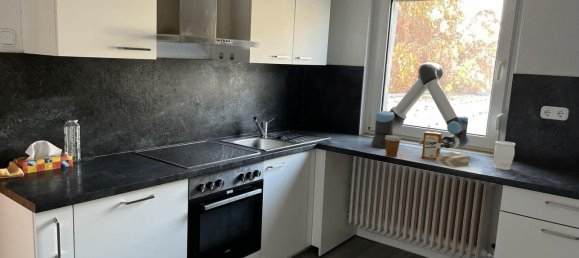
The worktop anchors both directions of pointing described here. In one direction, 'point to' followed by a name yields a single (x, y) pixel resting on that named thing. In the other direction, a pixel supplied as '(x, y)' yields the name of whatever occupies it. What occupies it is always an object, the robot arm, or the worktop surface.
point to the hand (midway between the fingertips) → (428, 144)
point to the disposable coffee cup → (392, 145)
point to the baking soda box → (431, 145)
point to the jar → (503, 154)
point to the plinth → (452, 159)
